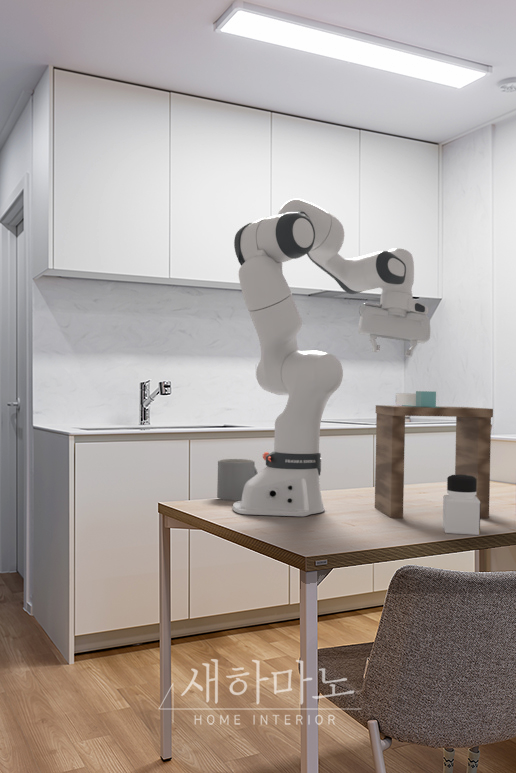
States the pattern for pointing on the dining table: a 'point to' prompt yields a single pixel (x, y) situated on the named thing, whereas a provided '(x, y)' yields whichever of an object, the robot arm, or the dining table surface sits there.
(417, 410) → the shelf
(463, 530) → the medicine bottle
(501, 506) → the dining table surface
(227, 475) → the coffee mug
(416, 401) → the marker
